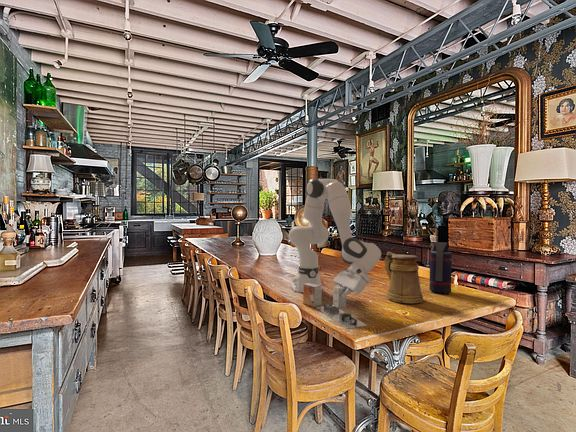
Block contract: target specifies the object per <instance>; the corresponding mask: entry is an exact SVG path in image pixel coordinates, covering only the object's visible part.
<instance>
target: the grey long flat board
mask: <svg viewBox="0 0 576 432" xmlns="http://www.w3.org/2000/svg"><path fill="white" fill-rule="evenodd" d="M315 309H317V310H318V311H320V312H321V313H323V314H324V315H325V316H327V317H329V319H331V320H333V321H334V322H336V323H337V324H338V325H340V326H342V327H343V328H345V329H346V330H349V329H357V328H362V327H368V325H367V324H366V323H364V322H363V321H361V320H359V319H358V318H356V317H354V316H352V313H351V312H347V311H344V310H342V308H337V307H335V306H334V305H333V304H331V303H328V304H323V306H322V305H320V306H316V307H315Z"/></svg>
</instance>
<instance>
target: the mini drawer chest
mask: <svg viewBox="0 0 576 432" xmlns="http://www.w3.org/2000/svg"><path fill="white" fill-rule="evenodd" d="M332 288H333V290H332V291H333V292H332V296H333V297H332V299H333V300H332V303H333V304H332V305H334V306H335V307H337V308H339V309H343V308H347V296H346V297H345V298H342V297H341V296H340V295H341V293H342V292H343V293H344V292H345V291H346V288H345V287H343V286H341V285H340V286H337V285H334V286H332Z"/></svg>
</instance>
